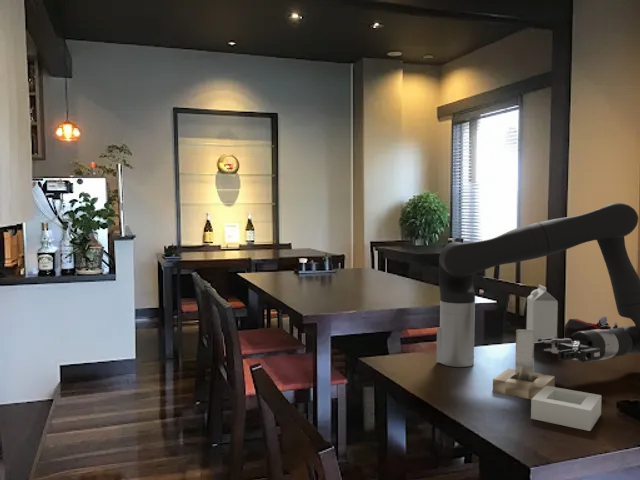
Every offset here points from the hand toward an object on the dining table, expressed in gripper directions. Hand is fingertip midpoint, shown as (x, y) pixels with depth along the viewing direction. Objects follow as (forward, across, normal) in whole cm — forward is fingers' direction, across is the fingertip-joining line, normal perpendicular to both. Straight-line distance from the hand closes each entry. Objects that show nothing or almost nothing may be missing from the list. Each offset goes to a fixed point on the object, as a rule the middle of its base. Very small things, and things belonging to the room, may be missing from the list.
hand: (545, 351), depth 135 cm
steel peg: (+6, 0, +8) cm, 11 cm away
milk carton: (-29, -29, +9) cm, 42 cm away
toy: (-43, -24, +9) cm, 50 cm away
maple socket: (+6, 0, +8) cm, 11 cm away
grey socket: (+11, +16, +8) cm, 21 cm away
